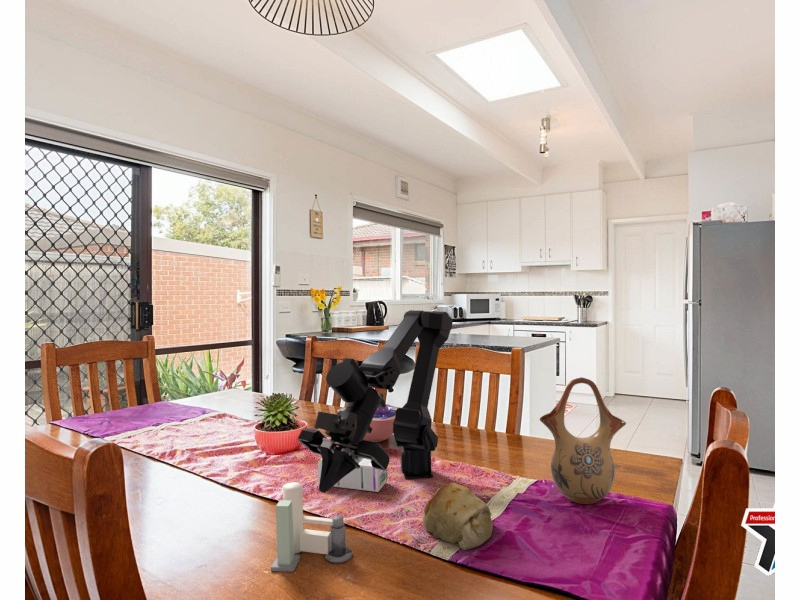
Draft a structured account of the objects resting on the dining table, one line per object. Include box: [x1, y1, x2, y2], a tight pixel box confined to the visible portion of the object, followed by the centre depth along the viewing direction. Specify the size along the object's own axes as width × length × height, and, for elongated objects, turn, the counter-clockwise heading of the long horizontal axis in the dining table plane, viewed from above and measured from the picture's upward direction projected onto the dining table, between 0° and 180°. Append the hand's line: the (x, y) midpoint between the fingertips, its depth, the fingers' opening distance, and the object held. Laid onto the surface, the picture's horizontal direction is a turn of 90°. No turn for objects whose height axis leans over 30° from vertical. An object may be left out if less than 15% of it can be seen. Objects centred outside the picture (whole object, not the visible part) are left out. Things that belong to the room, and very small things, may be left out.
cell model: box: [337, 403, 398, 443], centre depth 138 cm, size 17×20×11 cm
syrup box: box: [317, 457, 388, 493], centre depth 108 cm, size 6×6×14 cm
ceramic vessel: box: [539, 376, 627, 505], centre depth 97 cm, size 16×9×25 cm, turn 77°
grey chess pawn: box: [324, 523, 353, 565], centre depth 80 cm, size 4×4×5 cm
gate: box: [282, 481, 345, 555], centre depth 81 cm, size 10×3×11 cm, turn 76°
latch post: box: [270, 499, 301, 573], centre depth 77 cm, size 4×4×10 cm
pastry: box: [422, 481, 494, 551], centre depth 87 cm, size 14×12×8 cm
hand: (321, 491), depth 87 cm, fingers closed
